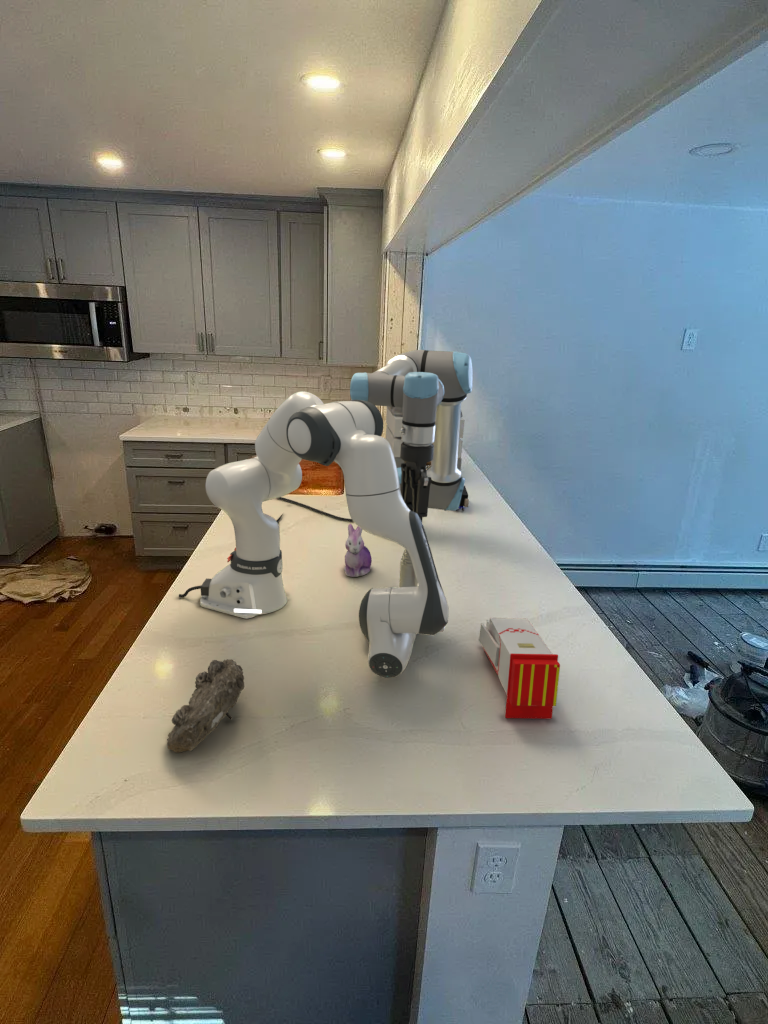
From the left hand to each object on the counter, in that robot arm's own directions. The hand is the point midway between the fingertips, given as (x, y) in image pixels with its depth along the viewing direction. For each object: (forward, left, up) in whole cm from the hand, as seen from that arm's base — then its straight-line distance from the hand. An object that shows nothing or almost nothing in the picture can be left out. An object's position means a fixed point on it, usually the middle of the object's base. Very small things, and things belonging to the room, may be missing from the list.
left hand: (407, 598), depth 143 cm
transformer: (-15, +138, -6) cm, 139 cm away
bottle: (0, -1, -6) cm, 6 cm away
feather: (-56, +60, -6) cm, 83 cm away
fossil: (-30, -45, -6) cm, 55 cm away
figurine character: (+7, +93, -6) cm, 94 cm away
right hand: (0, -1, +17) cm, 17 cm away
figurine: (-19, +24, -6) cm, 31 cm away
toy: (+26, -18, -6) cm, 32 cm away
